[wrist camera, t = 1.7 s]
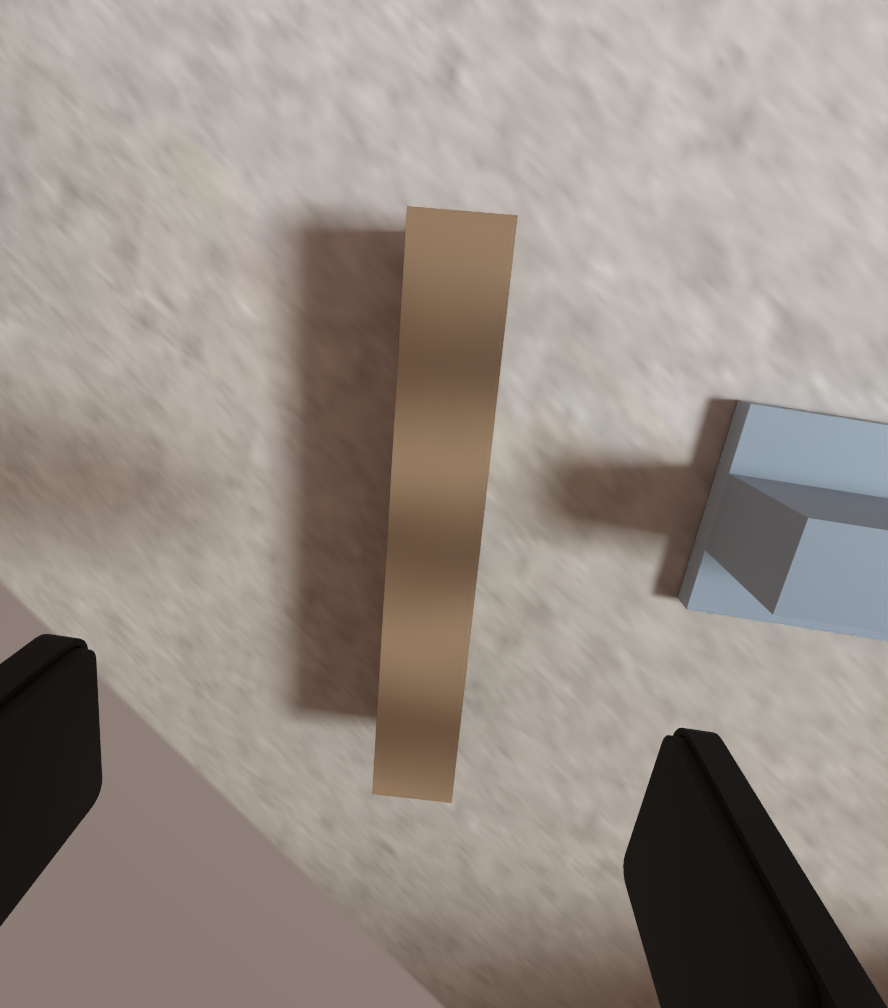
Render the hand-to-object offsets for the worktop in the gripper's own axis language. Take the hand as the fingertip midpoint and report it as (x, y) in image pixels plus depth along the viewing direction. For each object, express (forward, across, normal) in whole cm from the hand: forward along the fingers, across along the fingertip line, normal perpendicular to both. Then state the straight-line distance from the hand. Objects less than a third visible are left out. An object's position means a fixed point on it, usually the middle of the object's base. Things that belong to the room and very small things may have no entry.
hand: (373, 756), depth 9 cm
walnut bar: (+14, -1, 0) cm, 14 cm away
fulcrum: (+13, -16, -2) cm, 21 cm away
